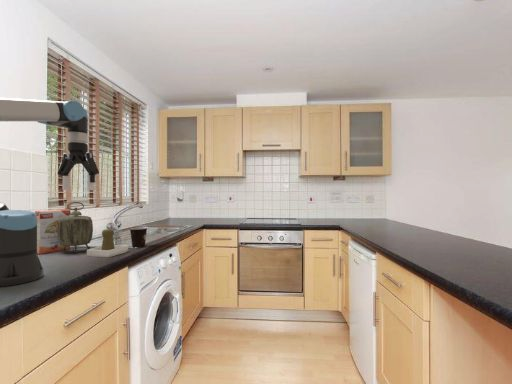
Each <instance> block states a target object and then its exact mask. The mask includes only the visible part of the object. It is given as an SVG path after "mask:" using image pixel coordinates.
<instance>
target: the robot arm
mask: <svg viewBox="0 0 512 384" xmlns="http://www.w3.org/2000/svg"><path fill="white" fill-rule="evenodd" d="M0 122H37V123H39V124H42V125H48V126H49V125H50V126H53V127H54V126H55V127H60V128H64V129H67V142H68V143H67V151H68V152H69V154H67V153H63V155H62V156H63V157H62V160H61V163H60V165H59V169H58V170H57V175H60V176H61V184H62V191H70V175H69V174H70V173H71V171H72V169H73V168H74V166H76V165H79V164H80V165H82V166H83V167H84V169H85V171H86V172H87V173H88V174H87V191H94V190H95V182H96V175H100V171H99V168H98V166H97V163H96V162H95V158H94V155H93V153H90V152H89V147H88V141H89V139H88V138H89V137H88V134H89V133H88V129H89V128H88V127H89V126H88V124H89V123H88V122H89V119H88V111H87V109H85V108H84V106H83V105H82V104H81V103H80V102H79V101H77V100H75V99H72V100H66V101H57V100H55V101H54V100H41V99H38V100H37V99H26V98H25V99H23V98H7V97H0ZM37 224H38V221H37V216H36V214H35V211H31V210H21V209H9V207H8V206H7V204H6V203H4V202H1V201H0V287H7V286H14V285H21V284H26V283H29V282H33V281H36V280H38V279H41V278H43V276H44V267H43V266H42V263H41V261H40V258H39V256H38V254H37Z"/></svg>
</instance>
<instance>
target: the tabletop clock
mask: <svg viewBox="0 0 512 384" xmlns="http://www.w3.org/2000/svg"><path fill="white" fill-rule="evenodd" d="M72 204H79V205H81V206H82V207H81V208H78V207H74V208H70V207H69V206H70V205H72ZM84 208H85V205H84V203H83V202H79V201H71V202H70V203H68V204H67V210H71V214H70V216H68V217H64V218H62V219H60V221H59V223H58V230H57V235H58V241H59V244H60V245H62V246H65V247H64V249H62V251H61V252H62V253H64V252H66V251H67V250H66V247H67V246H70V247H74V250H73V253H75V254H76V253H78V250H77V247H79V246H85V247H86V250H88V249H91V247H90V246H89V245H88V244H90V243H91V241H92V239H93V236H94V235H93V233H94V226H93V225H94V224H93V219H92V218H91V216H87V215H82V213H81V211H80V210H83V209H84Z"/></svg>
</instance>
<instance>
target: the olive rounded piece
mask: <svg viewBox="0 0 512 384" xmlns="http://www.w3.org/2000/svg"><path fill="white" fill-rule="evenodd" d="M101 235H102V244H101V246H102V249H101V250H112V249H115V247H114V245H115V242H114V235H115V231H114V229H111V228H109V229H103V230H102V231H101Z"/></svg>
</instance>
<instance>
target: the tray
mask: <svg viewBox="0 0 512 384" xmlns="http://www.w3.org/2000/svg"><path fill="white" fill-rule="evenodd" d="M114 247H115V249H112V250H101V249H102V245H100V246H98V247H96V246H95V247H92V248H90V249H86V257H92V258H93V257H97V258H111V257H114V256H118V255H121V254H125V253H128V252H129V245H128V244H127V245H123V244H114Z"/></svg>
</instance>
